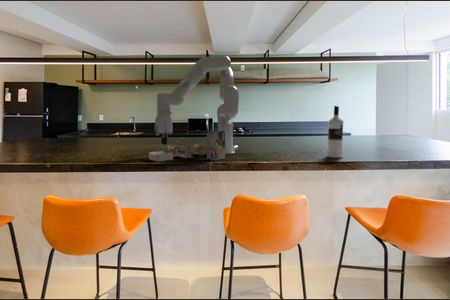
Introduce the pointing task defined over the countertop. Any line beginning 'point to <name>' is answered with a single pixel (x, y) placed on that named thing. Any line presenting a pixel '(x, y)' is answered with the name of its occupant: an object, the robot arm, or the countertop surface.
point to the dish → (160, 156)
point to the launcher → (184, 148)
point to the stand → (178, 154)
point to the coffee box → (215, 145)
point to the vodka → (335, 135)
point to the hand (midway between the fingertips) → (164, 144)
